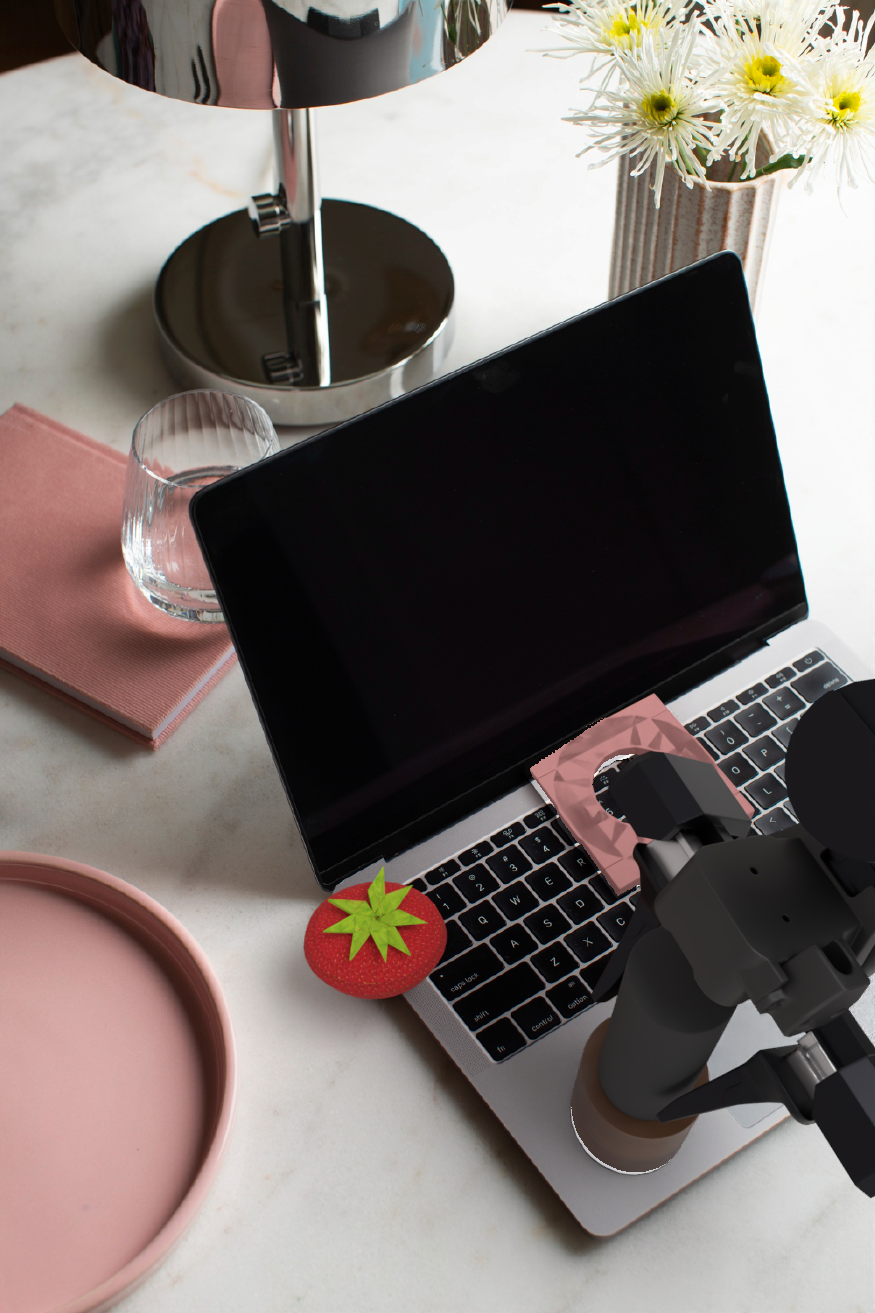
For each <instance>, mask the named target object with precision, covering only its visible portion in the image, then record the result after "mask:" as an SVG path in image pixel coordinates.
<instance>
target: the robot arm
mask: <svg viewBox="0 0 875 1313" xmlns="http://www.w3.org/2000/svg"><path fill="white" fill-rule="evenodd" d="M783 773H784V774H783V777H784V784H785V789H786V793H787V799H788V801H789V803H790V805H791V807H792V809H793V812H794V814H795V817H796V818H797V820H798V823H796V824H794V825H791V826H788V827H785V828H783V829H780V830H777V831H774V832H772V833H769V834H768V833H767V834H755V835H750V836H748V834H749V831H750V829H751V826H752V824H753V821H752V819H750V818H749V816H748V815H747V813H746V812H745V811H744V809H743V808H742V806H741V805H740V803H739V802H738V801H737V799H736V798H735V796H734V795H733V793H732V792H731V791H730V789H729V788H728V786H727V785H726V783H725V782H724V780H723V779H722V778H721V776H720V775H719V773H718V772H717V770H716V769H715V768H714V766H713V765H712V764H711V763H707V762H703V761H698V760H694V759H690V758H686V757H682V756H677V755H673V754H669V753H665V752H656V751H649V752H646V753H644V754H642V755H639V756H637V757H634V758H633V759H630V760H629V762H627V763H626V764H624V766H622V768H620V769H619V771H617V772H616V773H615V774H614V775H612V776H611V777H610V778H609V779H608V784H607V790H608V791H609V794H610V795H611V797H612V798H613V799H614V801H615V803H616V804H617V806H618V808H619V809H620V811H621V812H622V814H623V816H624V817H625V819H626V821H627V823H628V824H630V825H631V827H632V829H633V830H634V832H635V833H636V835H637V837H643V838H648V839H653V840H652V841H651V842H650V843H649V844H647V843H637V844H636V845H635V847H634V849H633V858H634V860H635V862H636V863H637V865H638V867H639V871H640V887H639V888H640V892H639V898H638V901H637V903H636V906H635V909H634V911H633V913H632V916H631V918H630V920H629V923H628V925H627V927H626V929H625V931H624V932H623V934H622V937H621V938H620V940H619V941H618V944H617V946H616V947H615V949H614V951H613V953H612V955H611V957H610V958H609V961H608V962H607V964H606V965H605V968H604V969H603V971H602V973H601V975H600V977H599V979H598V980H597V983H596V984H595V985H594V988H593V990H592V991H591V994H590V996H591V999H592V1000H593V1002H594V1003H595V1004H601V1003H607V1002H609V1001H612V999H614V998H615V997H616V998H617V995H618V992H619V988H620V985H621V982H622V978H623V975H624V971H625V968H626V965H627V961H628V958H629V955H630V953H631V951H632V949H633V947H634V945H635V944H636V943H637V942H638V940H639V939H640V938H642V937H643V936H644V935H645V934H646V933H648V932H649V931H651V930H653V929H655V928H658V927H661V926H663V927H664V929H666V930H669V931H670V932H671V933H672V935H673V937H674V938H675V940H676V942H677V943H678V945H679V946H680V948H681V950H682V951H683V953H684V955H685V956H686V958H687V960H688V961H689V963H690V965H691V966H692V968H693V972H694V979H695V980H696V982H697V984H698V985H699V987H700V988H701V990H702V991H703V992H704V994H705V995H706V996H707V997H708V998H710V999H711V1000H712V1001H714V1002H715V1003H717V1004H720V1005H722V1006H727V1007H729V1006H736V1005H738V1006H739V1005H742V1004H743V1003H746V1002H748V1001H749V1000H750V1001H751V1003H752V1005H753V1006H754V1007H755V1009H756V1011H757V1012H758V1015H765V1014H768V1015H769V1016H770V1017H771V1018H772V1019H773V1021H774V1023H775V1025H776V1026H777V1028H778V1029H779V1031H780V1033H781V1034H782V1035H783V1036H784V1037H786V1038H793V1037H794V1036H797V1035H800V1034H804V1035H802V1036H801V1037H800V1038H798V1039H797V1040H796V1044H788V1045H781V1046H775V1047H769V1048H763V1049H759V1050H757V1051H756V1052H755V1053H754V1054H753V1055H752V1056H751V1057H749V1058H748V1059H747V1060H746V1061H744V1063H742V1064H740V1065H738V1066H736V1067H734V1068H732V1069H730V1070H729V1071H726V1072H725V1073H723V1074H720V1075H719V1076H717V1077H714V1078H713V1079H711V1080H709V1082H707V1083H705V1084H703V1085H701V1086H699V1087H697V1088H695V1089H693V1090H692V1091H690V1092H688V1093H686V1094H684V1095H682V1096H680V1097H678V1098H677V1099H675V1100H674V1101H672V1102H671V1103H670V1104H669V1105H667V1106H666V1107H665V1108H664V1109H662V1110H661V1111H660V1112H658V1113H657V1115H656V1116H657V1118H658V1120H659V1122H660V1123H665V1122H670V1121H674V1120H678V1119H682V1118H686V1117H690V1116H695V1115H699V1114H700V1115H702V1114H706V1113H710V1112H714V1111H718V1110H722V1109H728V1108H731V1107H734V1106H740V1105H751V1104H753V1105H755V1104H769V1103H771V1104H782V1105H783V1106H784V1107H785V1108H786V1110H787V1112H788V1113H789V1114H790V1116H791V1117H792V1119H793V1120H795V1121H796V1122H797V1123H798V1124H800V1125H803V1126H809V1125H814V1124H816V1126H817V1127H818V1129H819V1130H820V1132H821V1133H822V1135H823V1137H824V1138H825V1140H826V1142H827V1144H828V1145H829V1147H830V1148H831V1150H832V1151H833V1153H834V1154H835V1156H836V1158H837V1159H838V1162H840V1164H841V1166H842V1168H843V1169H844V1171H845V1172H846V1174H847V1175H848V1177H849V1178H850V1180H851V1182H852V1183H853V1186H855V1187H856V1188H857V1189H859V1191H861V1192H862V1193H863V1194H865V1195H866V1196H867V1197H868V1198H869V1199H873V1198H875V1045H874V1043H873V1042H872V1041H871V1039H870V1037H869V1036H868V1035H867V1034H866V1032H865V1031H864V1029H863V1028H862V1026H861V1025H860V1024H859V1022H858V1021H857V1019H856V1018H855V1017H854V1015H853V1012H851V1010H850V1008H852V1006H853V1005H855V1004H856V1003H858V1001H859V1000H860V999H861V998H862V996H863V995H864V993H865V992H866V990H867V989H868V988H869V986H870V985H871V979H870V977H872V976H873V975H874V974H875V678H870V679H864V680H856V681H853V682H851V683H848V684H845V685H843V686H841V687H837V688H836V689H830V690H828V691H826V692H825V693H824V694H822V695H821V696H820V697H818V698H817V699H816V700H814V702H813V703H811V705H810V706H809V707H808V708H807V709H806V711H804V713H803V714H802V715H801V716H800V717H799V719H798V721H797V722H796V725H795V727H794V729H793V730H792V732H791V735H790V737H789V740H788V744H787V748H786V751H785V755H784V772H783ZM700 1115H699V1116H700Z"/></svg>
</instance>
